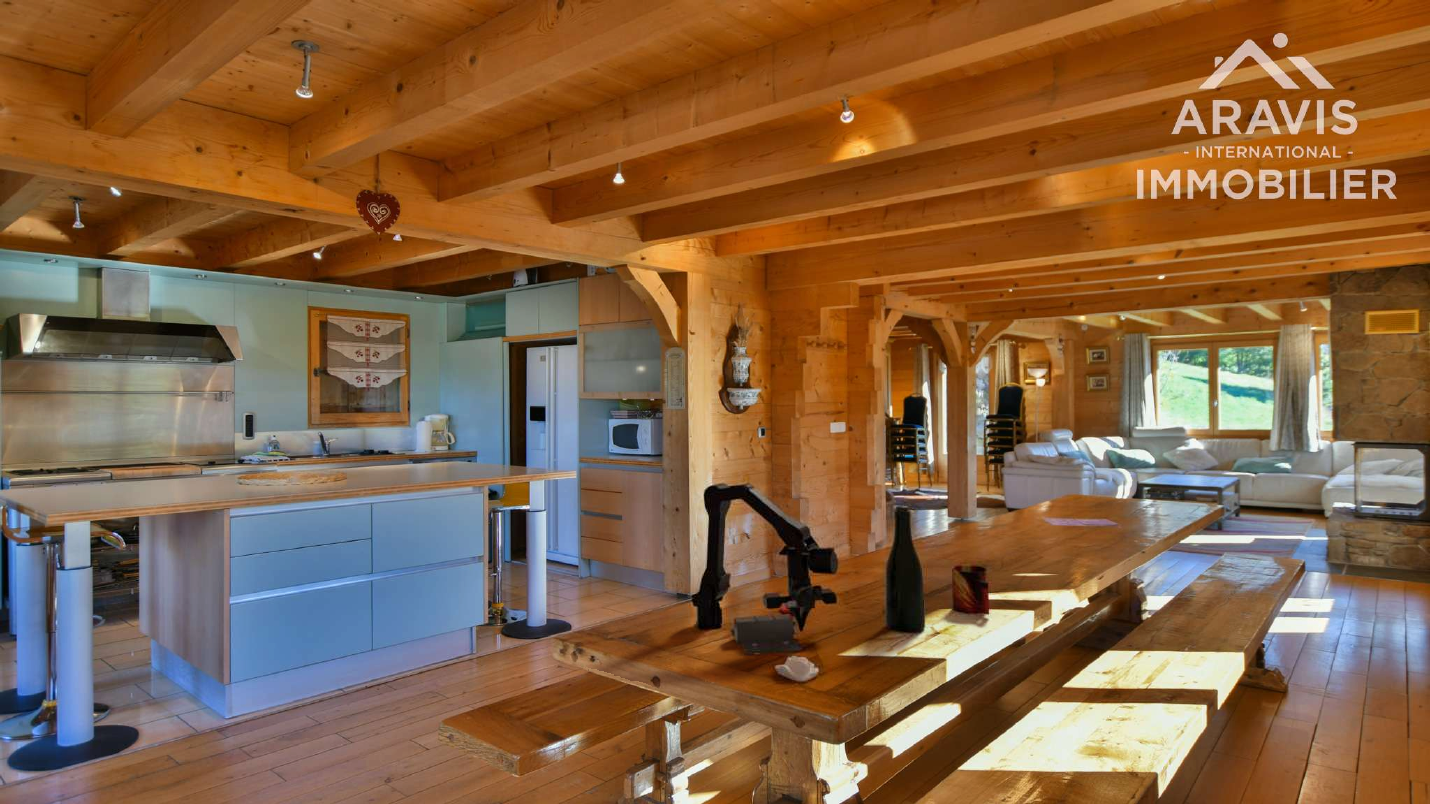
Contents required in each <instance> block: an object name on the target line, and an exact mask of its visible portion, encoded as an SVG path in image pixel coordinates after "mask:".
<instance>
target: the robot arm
mask: <svg viewBox="0 0 1430 804" xmlns="http://www.w3.org/2000/svg"><path fill="white" fill-rule="evenodd" d="M735 500H742V501H743V502H744V503H745V504H747V505H748V506H749V507H750V508H751V509H752V510H753V511H755V512H756V513H757V514H758V515H759V516H760V517H761V518H763V519H764V520H765V521H766V522H768V523H769V524H770V526H772V527H773V529H774V530H775V531H776V534H777V536H778V537H779V538H780V540H781V541H782V542H783V543H784V546H783V548H782V549H781V550H780V551H779V552H778V555H780V556H786V567H787V570H786V571H787V574H786V577H787V594H788V595H780V594H779V593H778V592H771V593H770V592H769V593H767V592H766V593H764V594H763V596H762V603H763V605H764V607H765V609H768V610H773V609H781V607H782V606H783V604H784V606H786V607H787V608H788V609H789V610H791V611H792V613H793V617H794V620H795V623H796V626H797V627H798V630H799V632H803V631H804V627H805V624H806V621H807V618H808V615H809V613H810V612H811V610H812V609H816V602H817V601H821V602H823V604H825V605H831V604H832V605H833V604H837V603H838V600H837V593H836V592H834V590H832V589H831V588H823V587H822V586H821V585H820V584H819V585H818V584H817V585H813V584H812V583H811V577H810V571H811V572H812V573H813V574H821V575H822V574H823V575H836V574H837V572H838V567H839V558H838V557H837V552H836V551H835V547H820V546H819V544H818V543H817V541H816V540H815V539H814V537H813V536H812V535H811V534H812V533H811V529H810V528H809V526H808V525H807V524H805V523H803V522H802V521H801V520H798V519H797V518H794V517H791V516H790V515H787V514H786V513H784V512H783V511H782V510H781V509H780V508H779V507H777V506H776V505H775V504H774V503H772V501H770V500H769V499H768V498H767V497H765V496H764V494H762V493H761V492H760V491H758V490H757V489H756V488H755V487H754V485H752V483H748V482H747V483H743V484H736V485H728V484H727V483H717V484H713V485H709V486H707V487H706V488H705V489H704V491H703V503H704V509H705V511H706V514H707V516H708V524H707V525H708V526H707V542H706V543H707V544H706V548H707V549H706V566H705V570H704V572H703V574H702V576H701V580H700V585H699V591H698V592H697V593H696V594H695V595H693V597H692V598H691V603H692V605H693V607H695V608H696V621H695V624H696V626H697V629H698V630H703V629H718V628H719V629H720V628H722V624H723V609H722V607H721V603H720V602H722V601H723V599H724V596H725V595H726V594H727V593H728V591H729V589H730V588H731V584H730V581H731V580H730V579H731V573H730V572H729V573H728V572H727V573H726V570H725V566H724V560H725V559H724V558H725V537H726V517H727V514H728V512H729V510H730V508H731V504H732V501H735Z"/></svg>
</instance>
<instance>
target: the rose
mask: <svg viewBox="0 0 1430 804" xmlns="http://www.w3.org/2000/svg"><path fill="white" fill-rule="evenodd" d="M774 668H775V670H776V672H777V674H779V675H780V674H781V676H783V677H785V678H788V679H791V680H792V681H795V682H807V681H810V680H812V679H814V678H815V677H816V676H817V675H818V674H819V668H818V667H815V664H814V663H812V662H811V661H809V660H808V658H806V657H803V656H802V657H798V656H796V655H792V656H789V657H787V659H786V661H785V663H784V664H777V665H776V666H774Z"/></svg>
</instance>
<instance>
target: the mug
mask: <svg viewBox="0 0 1430 804" xmlns="http://www.w3.org/2000/svg"><path fill="white" fill-rule="evenodd" d="M987 571H988V570H987V568H986V567H983V566H980V565H979V566H978V565H970V564H969V565H966V564H962V565H960V564H959V565H954V566H952V568H951V578H952V579H951V580H952V581H951V582H952V583H951V585H952V610H953V611H954V612H957V613H960V614H965V615H966V614H967V615H982V614H984V615H990V600H989V599H990V598H989V596H990V595H989V583H988V580H987Z"/></svg>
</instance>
